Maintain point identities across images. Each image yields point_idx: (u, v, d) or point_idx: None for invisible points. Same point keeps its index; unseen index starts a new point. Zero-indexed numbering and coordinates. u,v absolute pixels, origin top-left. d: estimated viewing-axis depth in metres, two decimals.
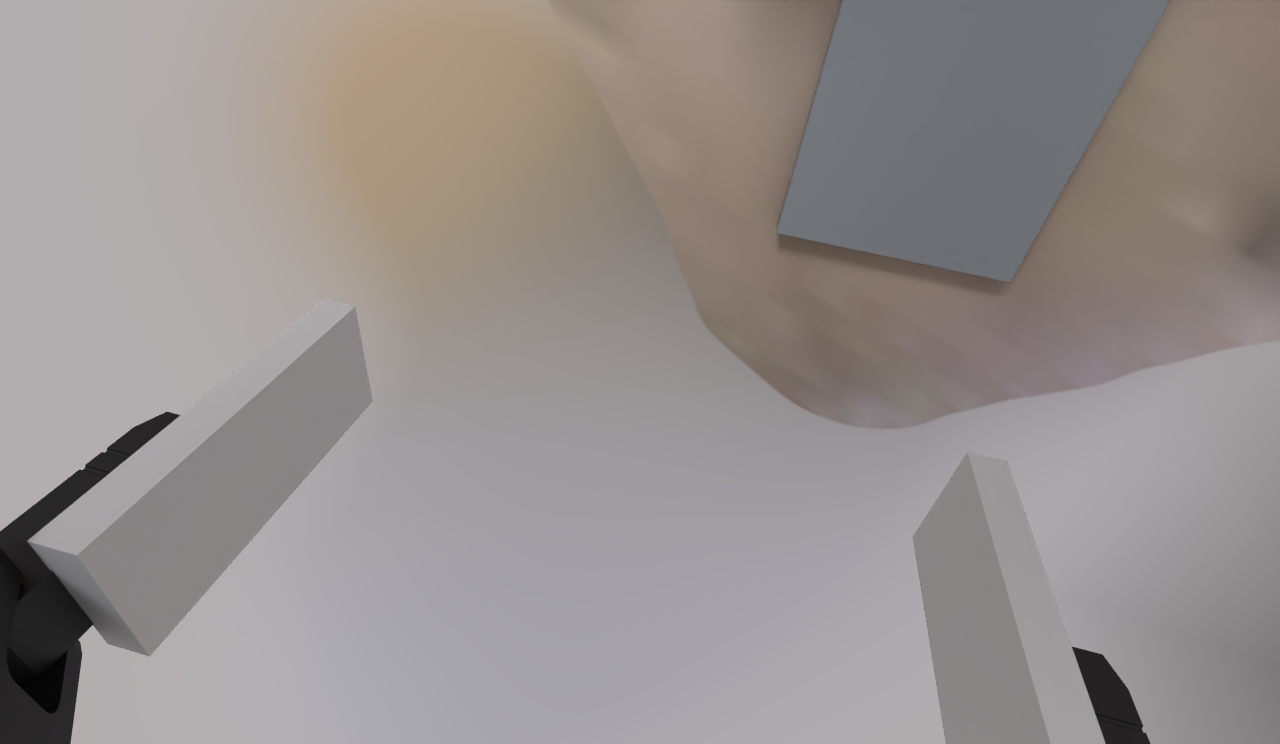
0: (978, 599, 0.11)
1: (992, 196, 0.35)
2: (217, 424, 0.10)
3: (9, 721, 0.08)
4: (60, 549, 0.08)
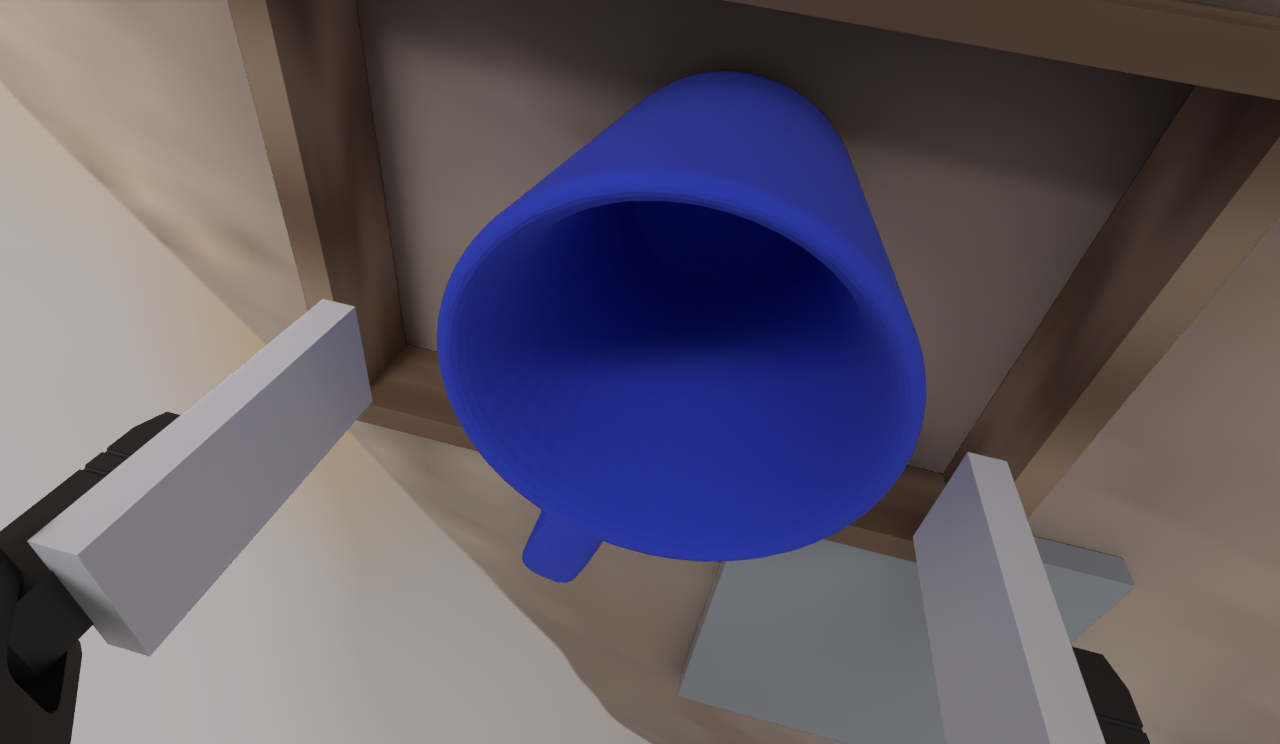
0: (978, 599, 0.11)
1: (902, 715, 0.31)
2: (217, 424, 0.10)
3: (9, 721, 0.08)
4: (60, 549, 0.08)
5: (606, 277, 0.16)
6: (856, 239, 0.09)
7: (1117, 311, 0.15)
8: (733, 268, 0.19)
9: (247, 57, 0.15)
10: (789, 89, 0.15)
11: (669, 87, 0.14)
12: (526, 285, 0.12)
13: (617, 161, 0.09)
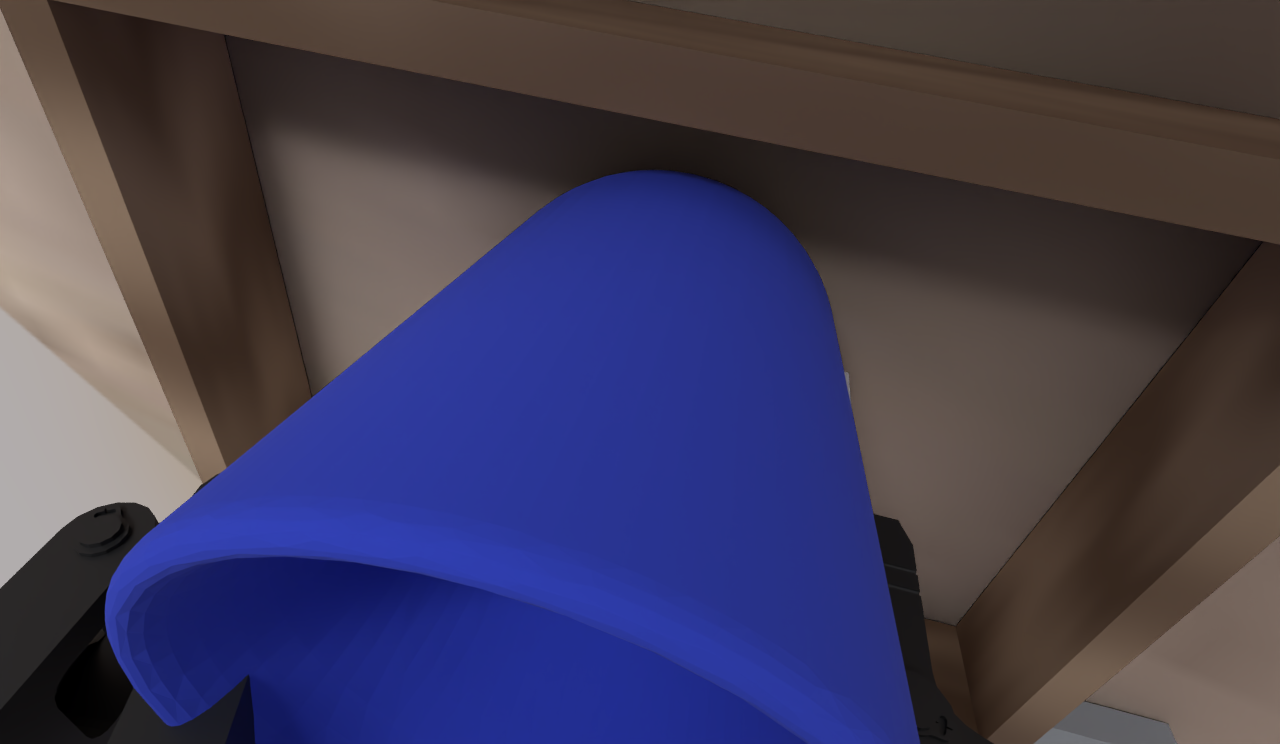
0: None
1: None
2: None
3: None
4: None
5: None
6: (791, 619, 0.04)
7: (1186, 496, 0.12)
8: None
9: (74, 167, 0.12)
10: (733, 199, 0.10)
11: (564, 201, 0.10)
12: None
13: (329, 465, 0.05)
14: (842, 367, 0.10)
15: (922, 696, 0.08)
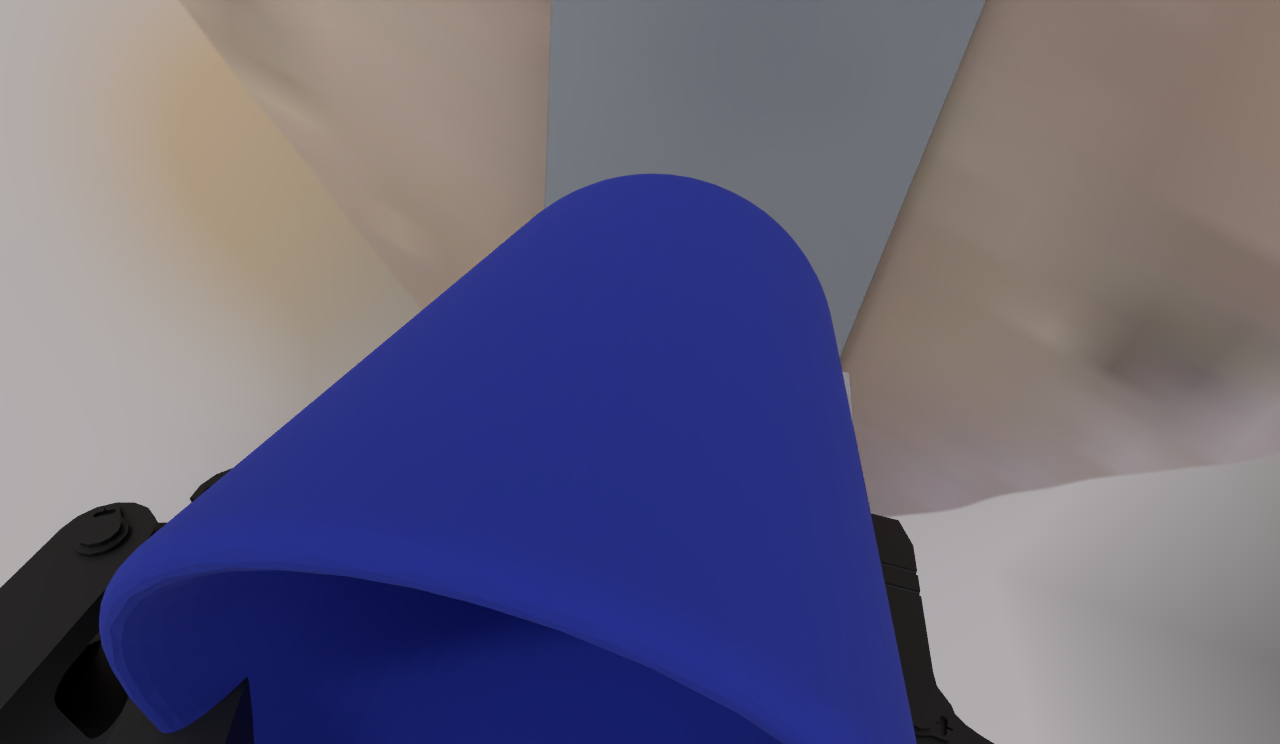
0: None
1: None
2: None
3: None
4: None
5: None
6: (789, 634, 0.04)
7: None
8: None
9: None
10: (733, 204, 0.10)
11: (563, 206, 0.10)
12: None
13: (324, 477, 0.04)
14: (841, 373, 0.10)
15: (922, 696, 0.08)
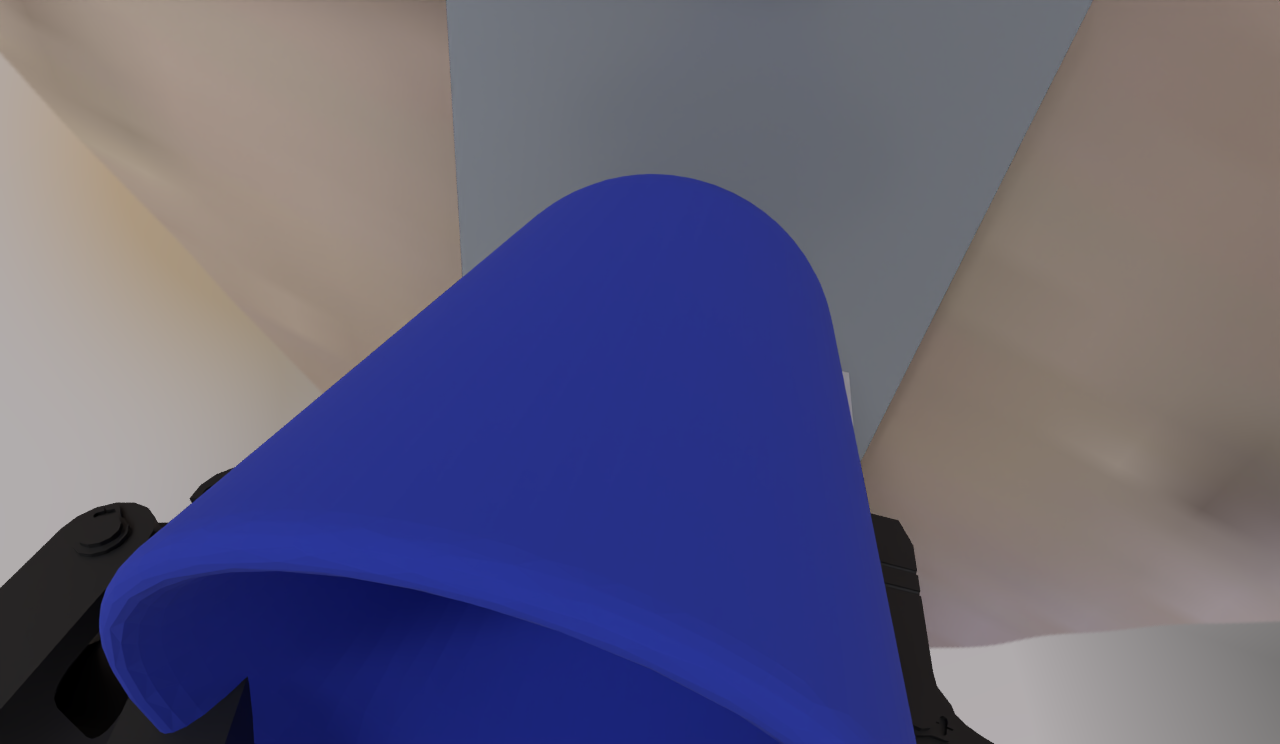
0: None
1: None
2: None
3: None
4: None
5: None
6: (789, 634, 0.04)
7: None
8: None
9: None
10: (732, 204, 0.10)
11: (563, 206, 0.10)
12: None
13: (324, 478, 0.04)
14: (841, 373, 0.10)
15: (922, 696, 0.08)
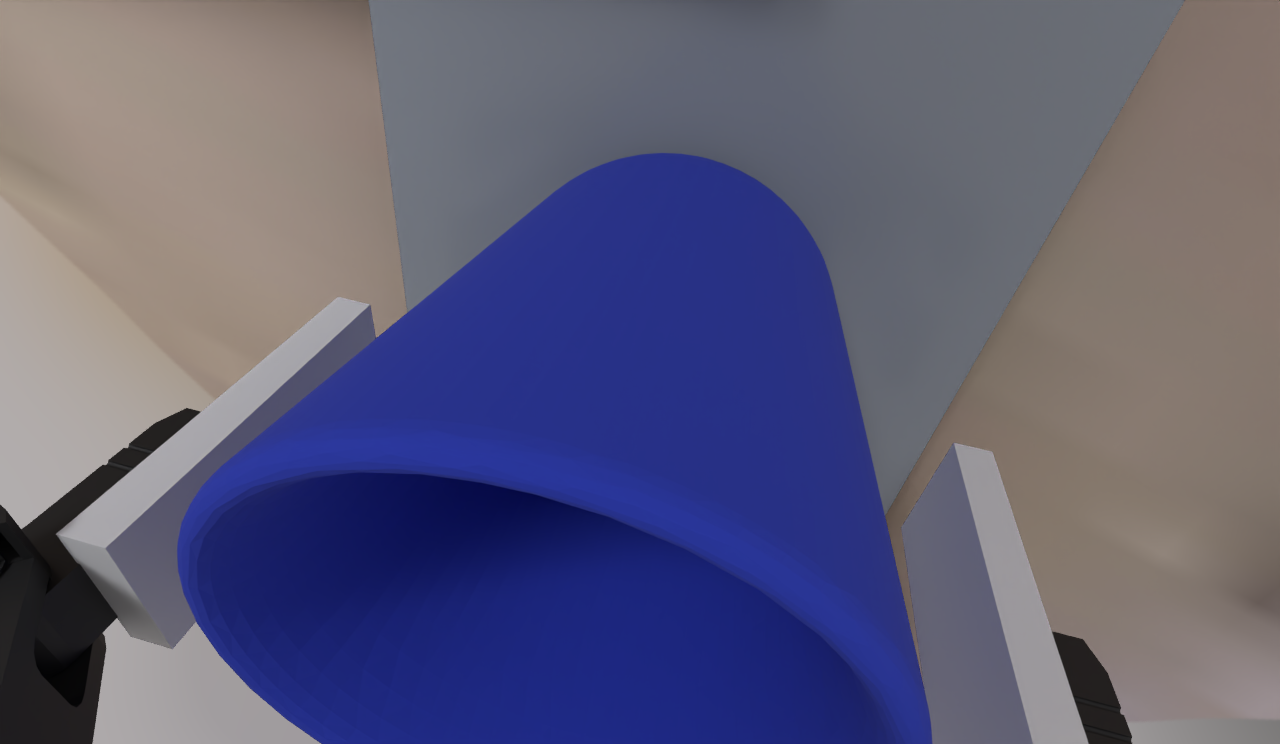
0: (962, 585, 0.11)
1: None
2: (238, 420, 0.11)
3: (35, 714, 0.08)
4: (89, 542, 0.08)
5: None
6: (803, 528, 0.05)
7: None
8: None
9: None
10: (740, 180, 0.11)
11: (581, 181, 0.11)
12: (360, 483, 0.09)
13: (394, 395, 0.05)
14: (843, 336, 0.10)
15: None
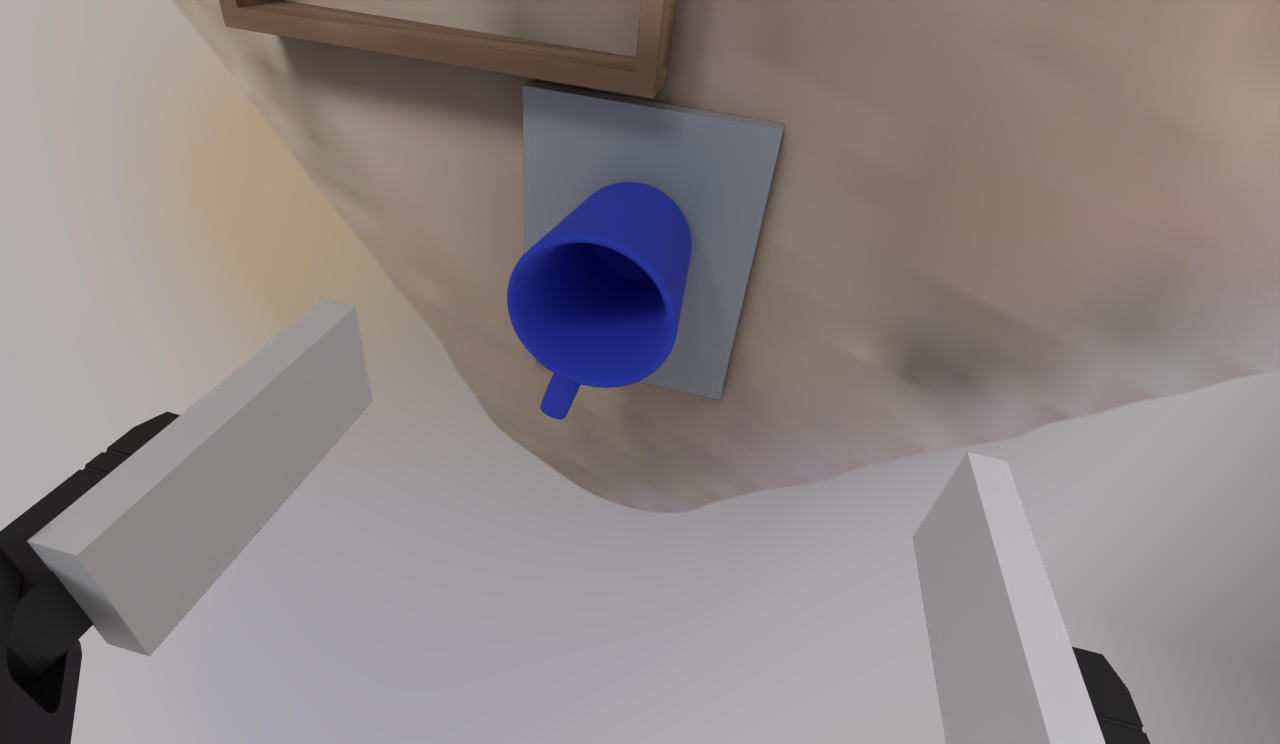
0: (978, 599, 0.11)
1: (683, 333, 0.40)
2: (217, 424, 0.10)
3: (9, 721, 0.08)
4: (60, 549, 0.08)
5: (576, 276, 0.35)
6: (642, 252, 0.27)
7: None
8: (643, 272, 0.38)
9: None
10: (652, 190, 0.33)
11: (599, 192, 0.33)
12: (539, 276, 0.31)
13: (567, 230, 0.27)
14: (682, 238, 0.32)
15: None
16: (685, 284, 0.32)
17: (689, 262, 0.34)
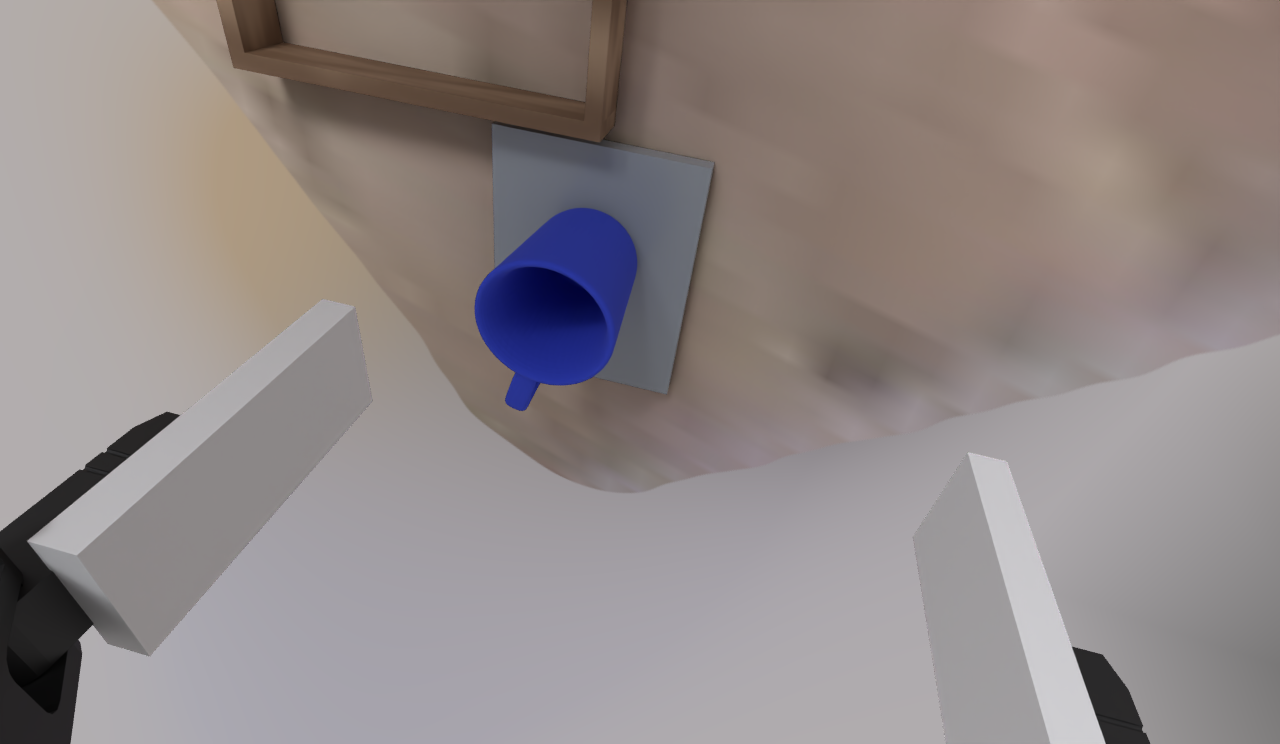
0: (978, 599, 0.11)
1: (634, 336, 0.46)
2: (217, 424, 0.10)
3: (9, 721, 0.08)
4: (60, 549, 0.08)
5: (537, 288, 0.41)
6: (585, 276, 0.33)
7: None
8: None
9: None
10: (601, 216, 0.39)
11: (556, 217, 0.39)
12: (503, 290, 0.37)
13: (523, 256, 0.33)
14: (626, 259, 0.38)
15: None
16: (627, 298, 0.38)
17: (633, 278, 0.40)
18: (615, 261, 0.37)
